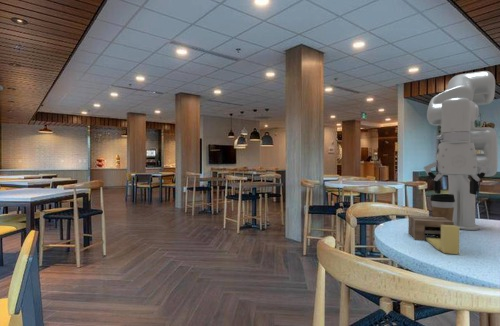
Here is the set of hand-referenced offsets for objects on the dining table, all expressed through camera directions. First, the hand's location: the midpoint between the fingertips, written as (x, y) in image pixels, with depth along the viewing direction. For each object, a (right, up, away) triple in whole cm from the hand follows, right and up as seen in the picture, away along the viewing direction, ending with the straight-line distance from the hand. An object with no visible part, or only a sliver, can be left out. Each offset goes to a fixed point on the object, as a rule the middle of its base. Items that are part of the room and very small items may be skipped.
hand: (455, 193), depth 95 cm
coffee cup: (+13, -18, +27) cm, 35 cm away
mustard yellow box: (-1, -18, +4) cm, 18 cm away
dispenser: (+2, -18, +17) cm, 25 cm away
